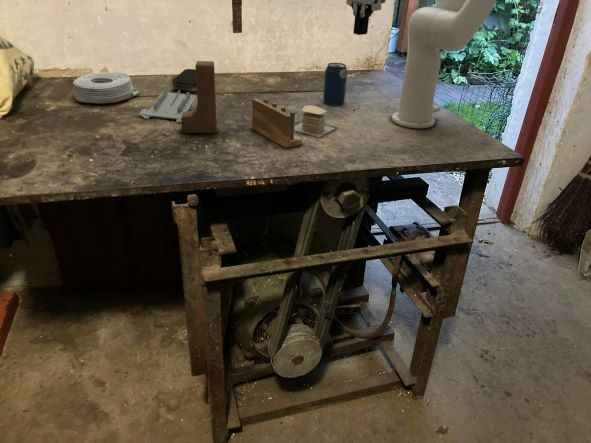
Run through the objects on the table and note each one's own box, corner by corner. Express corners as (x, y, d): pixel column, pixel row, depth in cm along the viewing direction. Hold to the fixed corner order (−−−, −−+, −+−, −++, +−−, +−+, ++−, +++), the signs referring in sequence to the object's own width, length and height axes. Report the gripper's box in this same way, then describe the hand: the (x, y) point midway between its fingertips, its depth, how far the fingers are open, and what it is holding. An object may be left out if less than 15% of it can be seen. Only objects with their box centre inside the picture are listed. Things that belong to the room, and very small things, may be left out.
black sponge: (186, 78, 173) (186, 68, 171) (209, 80, 172) (209, 70, 170) (171, 91, 159) (169, 80, 157) (195, 93, 158) (195, 82, 156)
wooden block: (182, 133, 128) (176, 64, 119) (183, 127, 132) (178, 60, 123) (216, 133, 129) (213, 65, 120) (216, 127, 133) (214, 61, 124)
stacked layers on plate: (335, 128, 137) (337, 109, 134) (319, 137, 130) (320, 117, 128) (305, 120, 141) (306, 102, 139) (288, 128, 135) (289, 109, 132)
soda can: (348, 104, 156) (352, 66, 150) (329, 106, 153) (332, 68, 147) (337, 98, 161) (340, 61, 155) (319, 100, 159) (321, 62, 152)
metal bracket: (155, 84, 145) (202, 89, 143) (160, 101, 149) (205, 106, 147) (135, 111, 136) (185, 117, 133) (140, 128, 140) (189, 134, 138)
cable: (144, 93, 157) (142, 74, 153) (114, 109, 142) (111, 88, 139) (96, 86, 160) (93, 68, 157) (62, 102, 145) (58, 82, 142)
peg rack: (267, 125, 136) (267, 96, 132) (301, 144, 126) (303, 113, 121) (252, 128, 134) (252, 98, 129) (286, 148, 123) (287, 116, 119)
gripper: (406, -51, 104) (393, 38, 114) (358, -55, 114) (350, 27, 124) (381, -51, 100) (370, 41, 110) (334, -55, 110) (328, 29, 120)
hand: (360, 33), depth 117 cm, fingers closed
